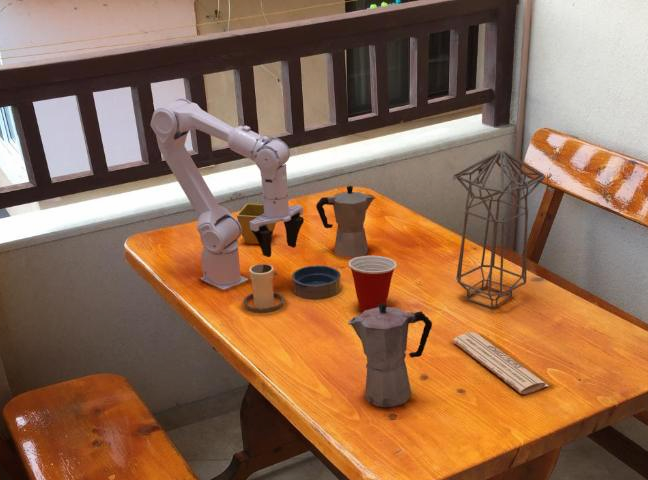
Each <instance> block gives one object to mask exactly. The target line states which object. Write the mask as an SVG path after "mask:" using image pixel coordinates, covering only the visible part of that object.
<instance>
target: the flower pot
mask: <svg viewBox="0 0 648 480" xmlns="http://www.w3.org/2000/svg"><path fill="white" fill-rule="evenodd" d="M263 213H264V204H262V203H245V205H244V206H243V207H242V209H241V210H240V211H239V212H237V214H236V219H237V220H238V222H239V223H240V225H241V228H242V233H241V236H242V238H243V240H245V242H246V243H247V244H248V245H249V244H250V245H260V244H259V242H258V240H257V238H256V237H255V235H254V234H253V232H252V231H251V229H250V221H252V220H254V219H256V218H257V217H259V216H260V215H262V214H263ZM276 224H277V223H274V224H271V225H268V226H267V228H268V230H270V231H272V232H273V233H272V235H273V234H274V231H275V229H276Z"/></svg>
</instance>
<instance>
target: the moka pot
mask: <svg viewBox="0 0 648 480" xmlns="http://www.w3.org/2000/svg"><path fill="white" fill-rule="evenodd" d="M418 322H423V323H424V327H423V330H422V334H421V336H420V341H419V345H418V348H417V349H416V351H413V352H412V351H411V352H409V353H408V356H409V358H418V357H422V355H423V352H424V350H425V348H426V345H427V340H428V338H429V336H430V332H431V330H432V328H433V321H432V320H431V319H429V317H428V316H426V314H425V313H423V311H422V310H420V311H416V312H413V311H412V312H411V311H410V312H405V311H404V310H403V309H402V308H399V307H392V306H391V307H390V306H387V303H386V304H385V303H381V304H379V305H378V307H377V308H374V309H369V310H365V311H364V312H361V314H359V315H355V316H353V317H352V318H351V319H349V321H348V325H350V326H351V327H352V329H353V330H354V332H355V333H356V335H357V337H358V338H359V340H360V341H361V345H362V350H363V354H364V355H365V356H366V364H365V368H366V376H365V379H366V380H365V391H364V392H365V395H364V397H365V399H366V401H367V402H368V403H369V404H371V405H372V406H376V407H378V408H380V407H381V408H394V407H399V406H401V405H403V404H405V403H406V402H407V401H409V400H410V398H411V395H412V388H411V383H410V379H409V374H408V369H407V364H406V361H405V359H406V355H407V354H406V351H407V347H408V346H407V344H408V336H409V325H410V324H415V323H418Z"/></svg>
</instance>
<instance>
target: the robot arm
mask: <svg viewBox="0 0 648 480" xmlns="http://www.w3.org/2000/svg"><path fill="white" fill-rule="evenodd" d="M149 126H150V127H151V129H152V131H153V132H154V134H155V137H156V142H157V146H158V150H159V152H160V154H161V155H162V157H163V159H164V160H165V162H166V163H167V165H168V167H169V169H170V171H171V172H172V174H173V176H174V177H175V179H176V181H177V182H178V184H179V186H180V187H181V189H182V191H183V193H184V194H185V196H186V198H187V200H188V201H189V203H190V205H191V207H192V208H193V209H194V211H195V213H196V215H197V216H198V220H197V226H196V229H197V231H198V233H199V236H200V242H201V244H202V246H203V248H202V250H201V253H200V258H201V266H202V275H203V276H202V277H200V280H201V281H203V282H205V283H207V284H209V285H211V286H214V287H216V288H218V289H220V290H223V291H224V290H227V289H230V288H232V287H235V286H237V285H240V284H243V283H246V282H248V281H249V278H247V277H245V276H243V275H241V265H240V254H239V246H238V244H239V238H240V237H241V236H242V234H241V233H242V228H241V225H240V223H239V222H238V219H237V217H235V216H233V214H231V212H230V210H229V209H228V208H226V207H224V206H221V205H220V204H219V203H218V201H217V200H216V198H215V196H214V194H213V193H212V191H211V189H210V188H209V187H208V186H209V185H208V184H207V182H206V181H205V179H204V177H203V175H202V174H201V172H200V170H199V168H198V167H197V165H196V163H195V162H194V160H193V158H192V157H191V155H190V153H189V151H188V149H187V148H186V145H185V144H186V141H187V137H188V134H189V132H190V131H194V130H197V131H200V132H203V133H205V134H207V135H209V136H212V137H214V138H217V139H219V140H221V141H224V142H226V143H227V144H228V147H229V149H230V150H231V151H233V152H234V153H237V154H239V155H240V156H243V157H244V158H247V159H249V160H251V161H253V162H255V165H256V166H257V168H258V169H259V172H260V177H261V190H262V201H263V205H264V213H263V214H262V215H260V216H259V217H257V218H256V219H254V220H252V221H250V229H251V231H252V232H253V234H254V235H255V237H256V238H257V240H258V242H259V244H258V245H259V247H260V249H261V252H262V256H264V257H266V258H271V257H272V238H273V237H272V236H273V234H274V231H273V232H272V231H270V230H268V228H267V226H268V225H271V224H274V223H276V224H277V223H280V222H283V224H284V229H285V235H286V244H287V246H288V247H290V248H293V249H294V248H296V246H297V242H298V241H297V240H298V236H299V233H300V230H301V228H302V226H303V224H304V222H305V221H304V217H303V216H302V215H304V206H303V205H300V204H295V205H291V206H290V205H289V204H290V203H289V187H288V175H287V174H288V173H287V164H286V163H287V162H289V160H290V156H291V152H290V148H289V146H288V144H286V142H285V141H284V140H282V139H281V138H272V139H270V138H269V136H266V135H264V136H263V135H261V134H259V133H257V132H255V131H253V130H251V127H250V126H248V125H244V126H242V125H239V126H236V127H234V126H231V125H230V124H228V123H226V122H224V121H223V120H222V119H219V118H217V117H215V116H214V115H212V114H210V113H208V112H207V111H205V110H203V109H202V108H201V107H200V106H199V105H198V103H196V102H192V101H190V100H189V99H187V98H178V99H176V100H175V101H173V102H171V103H169V104H167V105H165V106H162V107H158V108H156V109H155V110H154V111H153V112H152V116H151V120H150V124H149ZM272 233H273V234H272Z"/></svg>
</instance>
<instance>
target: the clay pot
mask: <svg viewBox="0 0 648 480" xmlns="http://www.w3.org/2000/svg"><path fill="white" fill-rule="evenodd" d="M248 272H249V279H250V280H251V287H252V293H253V299H252V300H253V307H254V308H269V307H273V306H275V297H274V292H275V291H274V278H275V269H274V266H273V265H271V264H268V263H259V264H254V265H252V266H250V267H249V270H248Z"/></svg>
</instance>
